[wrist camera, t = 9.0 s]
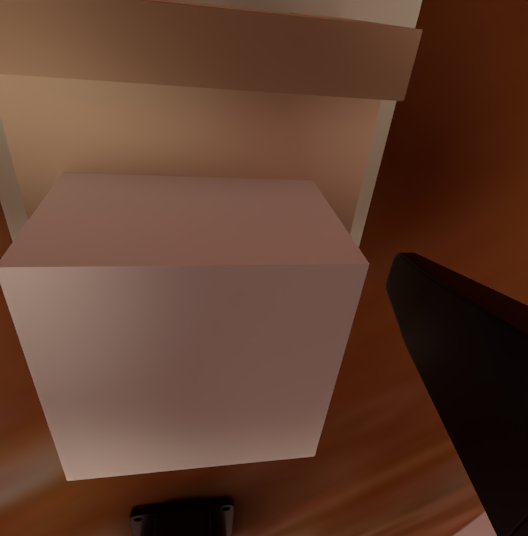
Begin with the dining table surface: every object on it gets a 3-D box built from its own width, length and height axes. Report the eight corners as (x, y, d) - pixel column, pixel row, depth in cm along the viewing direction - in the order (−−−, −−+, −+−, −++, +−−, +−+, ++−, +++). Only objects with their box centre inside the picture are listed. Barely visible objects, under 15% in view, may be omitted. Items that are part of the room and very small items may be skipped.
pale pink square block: (284, 348, 10) (314, 456, 8) (97, 356, 10) (67, 481, 7) (313, 180, 8) (369, 264, 5) (62, 172, 7) (-7, 267, 5)
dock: (312, 297, 18) (333, 347, 15) (70, 304, 16) (48, 361, 13) (372, -3, 11) (423, -2, 9) (-12, -48, 10) (-79, -62, 7)
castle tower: (287, 340, 14) (314, 433, 11) (102, 348, 13) (76, 455, 10) (341, 17, 9) (423, 29, 6) (33, -15, 8) (-67, -22, 5)
